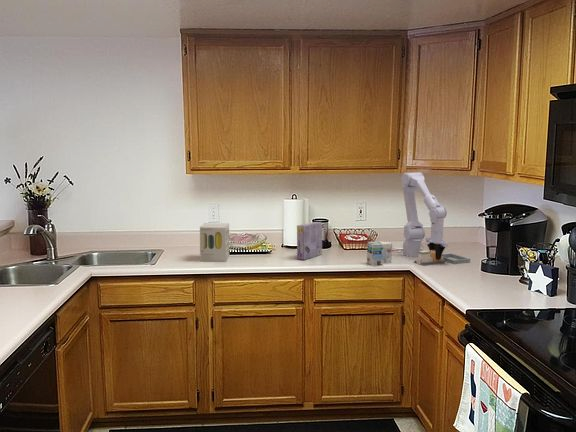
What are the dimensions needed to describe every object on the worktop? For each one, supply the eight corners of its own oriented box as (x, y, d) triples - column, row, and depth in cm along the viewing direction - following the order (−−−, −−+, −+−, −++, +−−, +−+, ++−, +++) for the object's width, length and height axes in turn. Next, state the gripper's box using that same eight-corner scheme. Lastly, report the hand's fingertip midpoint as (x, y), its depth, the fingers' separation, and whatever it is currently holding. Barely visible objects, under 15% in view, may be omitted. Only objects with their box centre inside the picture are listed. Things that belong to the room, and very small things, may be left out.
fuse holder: (412, 264, 274) (412, 257, 274) (435, 261, 280) (435, 254, 279) (423, 268, 266) (424, 260, 266) (447, 265, 272) (447, 258, 271)
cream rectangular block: (417, 263, 272) (418, 251, 271) (425, 262, 274) (426, 250, 273) (421, 264, 269) (422, 252, 268) (429, 263, 271) (430, 251, 270)
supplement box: (199, 261, 277) (199, 226, 275) (204, 256, 290) (203, 222, 288) (226, 262, 277) (225, 227, 274) (229, 256, 290) (229, 223, 287)
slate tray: (435, 260, 283) (435, 254, 283) (450, 258, 287) (451, 253, 287) (453, 266, 270) (454, 260, 270) (470, 264, 274) (470, 258, 274)
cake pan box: (315, 253, 299) (316, 220, 296) (323, 254, 296) (324, 221, 294) (295, 259, 283) (296, 225, 281) (304, 260, 280) (304, 226, 278)
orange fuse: (429, 261, 275) (430, 249, 274) (437, 261, 277) (437, 249, 276) (433, 263, 272) (434, 251, 271) (441, 262, 274) (442, 250, 273)
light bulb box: (371, 266, 269) (372, 244, 268) (366, 263, 276) (366, 241, 274) (392, 265, 272) (392, 243, 271) (386, 262, 279) (386, 240, 277)
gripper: (421, 229, 277) (420, 256, 279) (440, 234, 264) (438, 262, 266) (432, 228, 280) (431, 255, 282) (451, 233, 267) (450, 261, 269)
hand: (435, 258), depth 274 cm, fingers closed on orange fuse, 3 cm apart
